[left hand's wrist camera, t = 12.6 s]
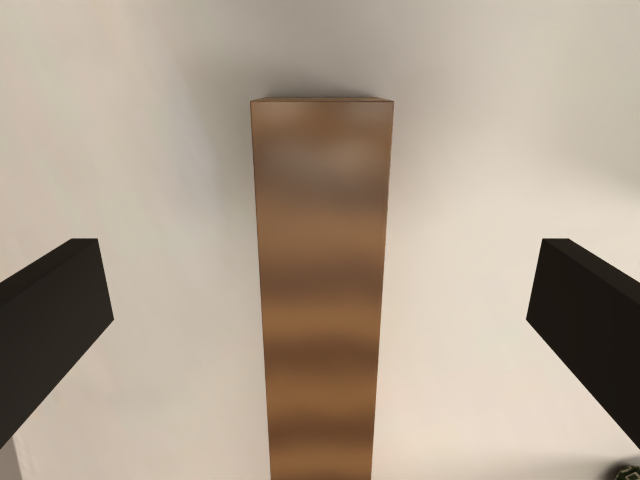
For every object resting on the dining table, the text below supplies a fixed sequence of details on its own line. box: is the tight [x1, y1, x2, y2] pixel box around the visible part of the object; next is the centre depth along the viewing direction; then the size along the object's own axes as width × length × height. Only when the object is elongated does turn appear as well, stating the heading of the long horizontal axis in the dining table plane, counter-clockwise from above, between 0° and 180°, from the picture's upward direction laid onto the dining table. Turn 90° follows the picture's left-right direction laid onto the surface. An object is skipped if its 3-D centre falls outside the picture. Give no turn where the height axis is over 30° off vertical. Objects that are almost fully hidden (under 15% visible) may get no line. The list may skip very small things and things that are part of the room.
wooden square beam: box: [250, 97, 394, 480], centre depth 38 cm, size 53×9×8 cm, turn 0°
